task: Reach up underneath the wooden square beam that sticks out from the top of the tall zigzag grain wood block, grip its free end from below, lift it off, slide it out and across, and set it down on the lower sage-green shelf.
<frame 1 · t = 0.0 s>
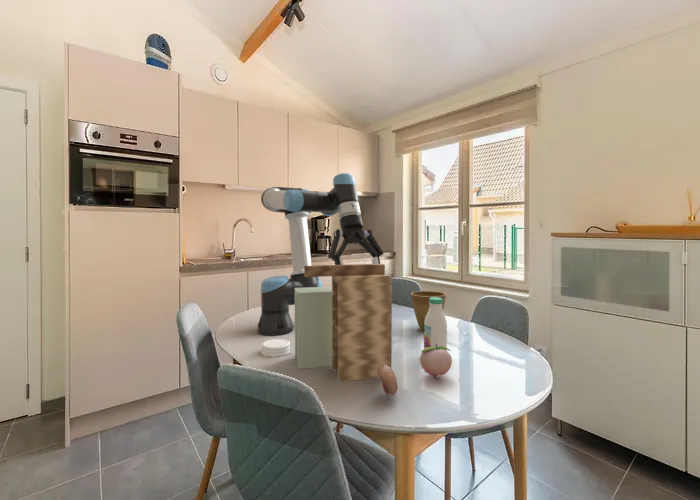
hand: (360, 277, 112), 28 cm above the table, tool tilted 20°, fingers open, 13 cm apart
plant pot: (427, 329, 151), on the table
milk bottle: (435, 355, 119), on the table
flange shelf: (314, 361, 113), on the table
wooden square beam: (345, 275, 102), point 30 cm above the table, touching zigzag grain wood block
decorative fruit: (436, 378, 101), on the table
coaster: (276, 353, 123), on the table
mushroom: (388, 396, 90), on the table
zigzag grain wood block: (360, 371, 105), on the table
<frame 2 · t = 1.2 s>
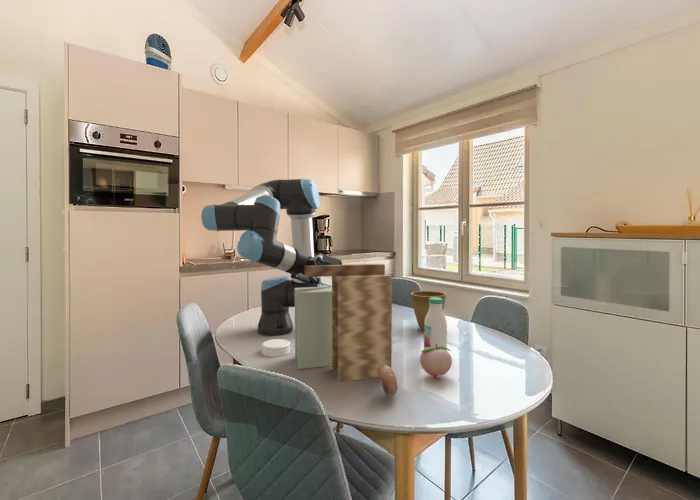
hand: (341, 279, 117), 27 cm above the table, tool tilted 70°, fingers open, 7 cm apart
nothing on the table moved.
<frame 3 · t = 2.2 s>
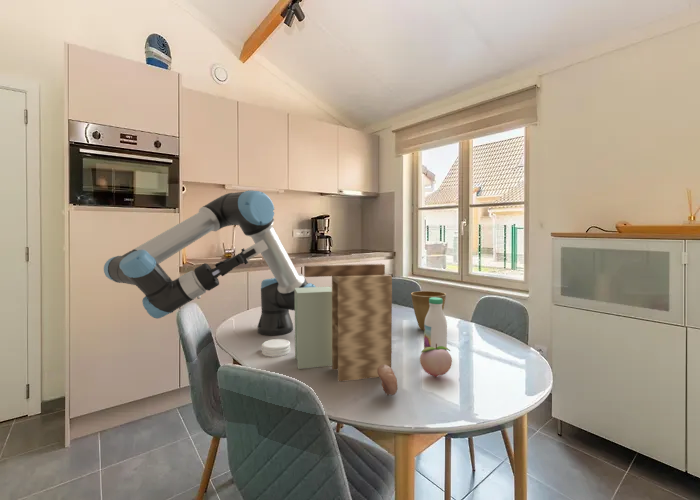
hand: (265, 243, 103), 39 cm above the table, tool pointing upward, fingers open, 13 cm apart
nothing on the table moved.
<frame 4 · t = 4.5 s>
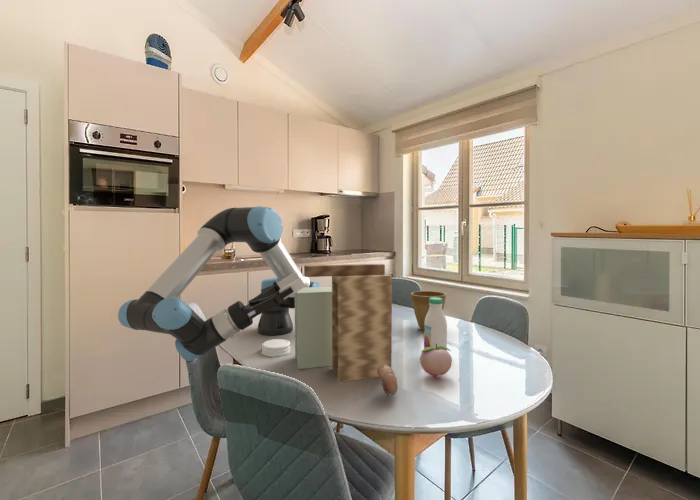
hand: (300, 278, 98), 29 cm above the table, tool pointing upward, fingers open, 13 cm apart
nothing on the table moved.
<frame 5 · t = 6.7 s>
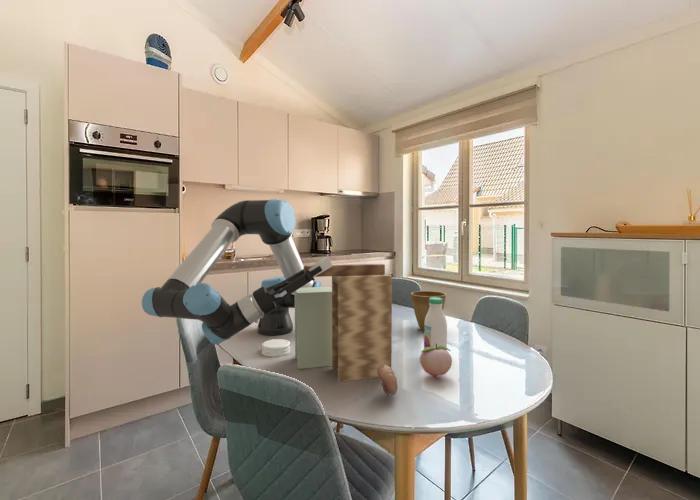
hand: (329, 261, 101), 34 cm above the table, tool pointing upward, fingers closed on wooden square beam, 3 cm apart
wooden square beam: (345, 275, 102), point 30 cm above the table, touching gripper, zigzag grain wood block
everything else where it was.
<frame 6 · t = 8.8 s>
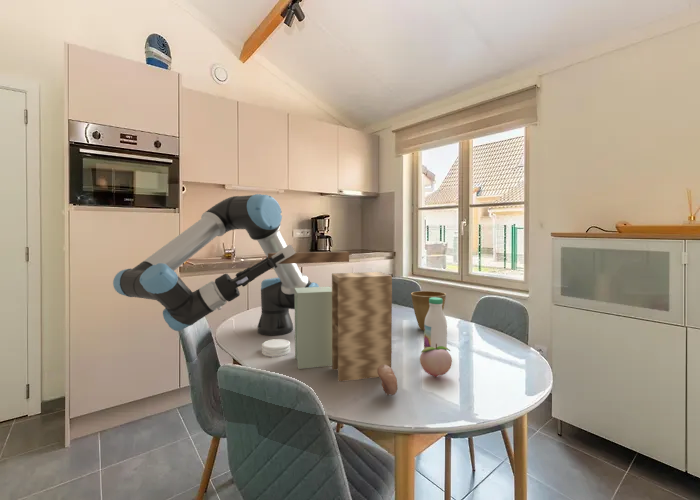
hand: (292, 248, 101), 38 cm above the table, tool pointing upward, fingers closed on wooden square beam, 3 cm apart
wooden square beam: (309, 262, 103), point 34 cm above the table, touching gripper
everything else where it was.
when the fingers open (30 cm above the table, at t = 11.2 s): wooden square beam drops 1 cm, resting on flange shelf.
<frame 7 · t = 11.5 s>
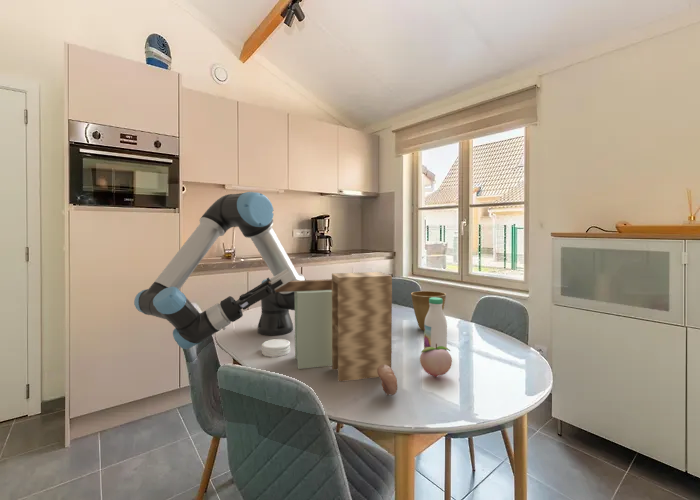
hand: (290, 273, 110), 29 cm above the table, tool pointing upward, fingers open, 7 cm apart
wooden square beam: (306, 289, 112), point 24 cm above the table, touching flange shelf
everything else where it was.
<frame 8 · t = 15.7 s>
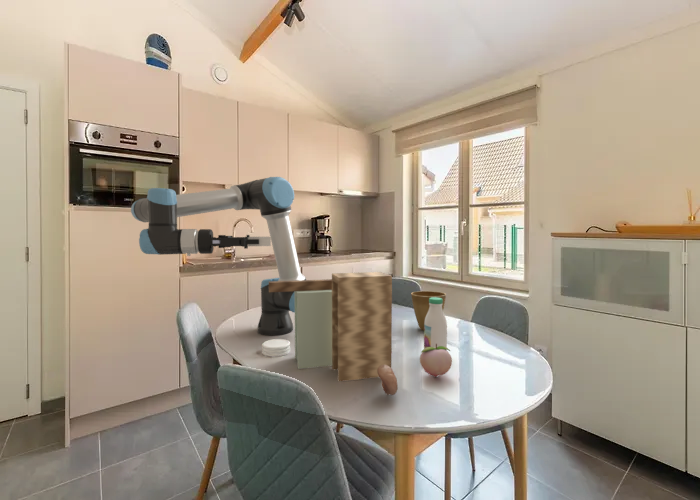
hand: (270, 241, 110), 40 cm above the table, tool horizontal, fingers open, 13 cm apart
nothing on the table moved.
at the end: the gripper is holding nothing; wooden square beam 2.5 cm from the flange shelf (horizontally); wooden square beam inside the target area (9.0 cm from its centre), point 24.0 cm above the table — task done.
